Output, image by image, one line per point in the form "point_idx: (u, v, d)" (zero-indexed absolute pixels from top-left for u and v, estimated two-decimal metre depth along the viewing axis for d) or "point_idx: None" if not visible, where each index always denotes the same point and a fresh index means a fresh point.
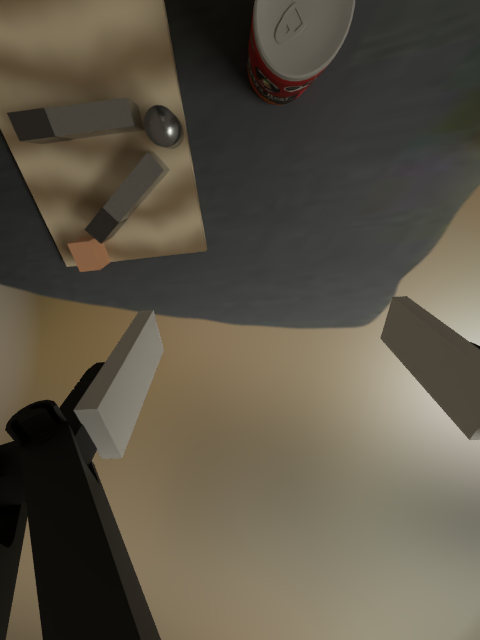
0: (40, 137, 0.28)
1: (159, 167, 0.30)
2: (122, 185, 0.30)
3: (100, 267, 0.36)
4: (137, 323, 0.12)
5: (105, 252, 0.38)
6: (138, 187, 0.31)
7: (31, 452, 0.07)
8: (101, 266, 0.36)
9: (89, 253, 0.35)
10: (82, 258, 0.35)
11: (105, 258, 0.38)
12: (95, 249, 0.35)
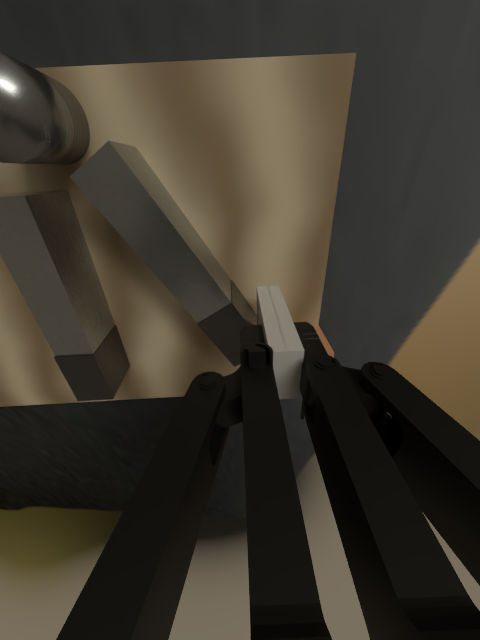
0: (100, 373, 0.17)
1: (103, 153, 0.10)
2: (153, 268, 0.13)
3: (329, 351, 0.17)
4: (264, 295, 0.14)
5: None
6: (157, 232, 0.12)
7: (247, 376, 0.09)
8: (327, 348, 0.17)
9: None
10: None
11: None
12: None
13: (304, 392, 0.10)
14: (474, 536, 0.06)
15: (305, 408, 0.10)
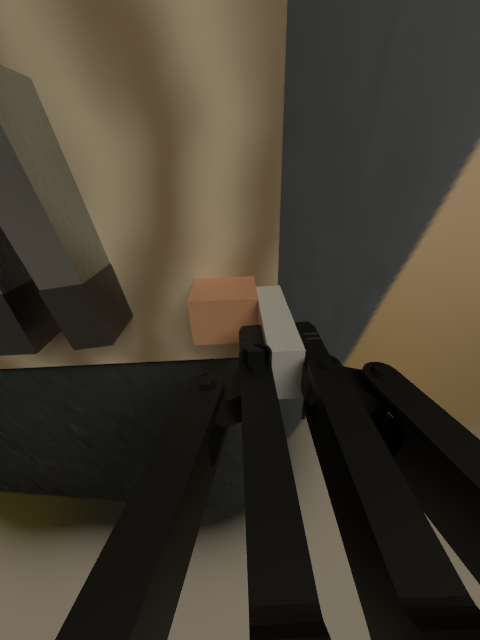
0: (15, 320, 0.14)
1: None
2: None
3: (253, 297, 0.14)
4: (263, 296, 0.14)
5: (230, 279, 0.17)
6: (6, 175, 0.11)
7: (246, 376, 0.09)
8: (252, 294, 0.14)
9: (216, 309, 0.14)
10: (227, 327, 0.15)
11: (241, 281, 0.16)
12: (210, 294, 0.15)
13: (305, 392, 0.10)
14: (475, 536, 0.06)
15: (306, 408, 0.10)
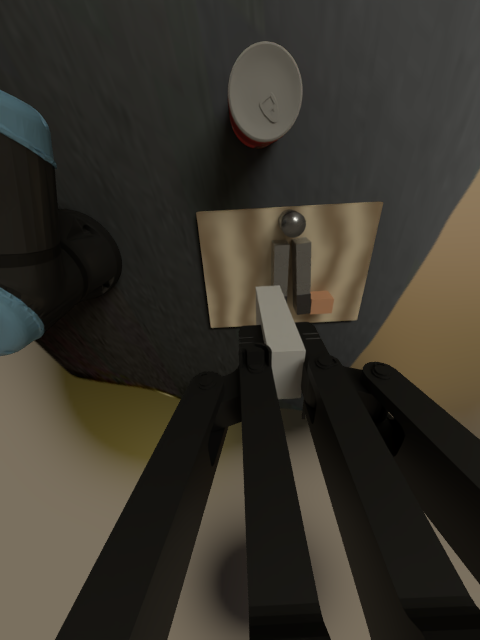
0: None
1: (308, 243, 0.40)
2: (297, 273, 0.42)
3: (332, 298, 0.45)
4: (263, 296, 0.14)
5: (320, 292, 0.47)
6: (305, 265, 0.42)
7: (246, 376, 0.09)
8: (331, 297, 0.45)
9: (320, 302, 0.45)
10: (322, 308, 0.46)
11: (324, 292, 0.47)
12: (317, 297, 0.46)
13: (305, 392, 0.10)
14: (475, 536, 0.06)
15: (306, 408, 0.10)
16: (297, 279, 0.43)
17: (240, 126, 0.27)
